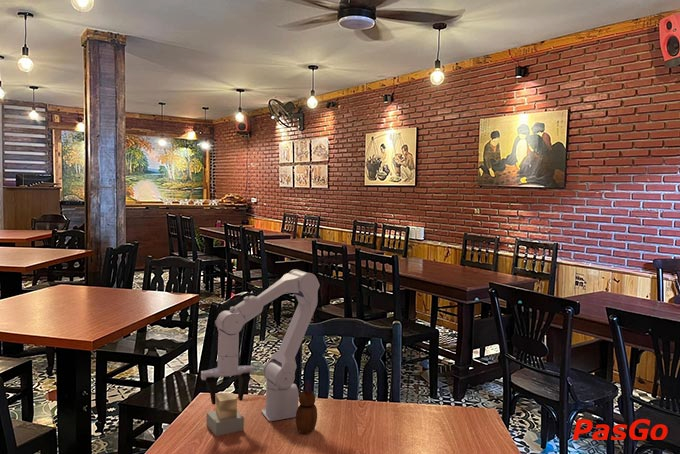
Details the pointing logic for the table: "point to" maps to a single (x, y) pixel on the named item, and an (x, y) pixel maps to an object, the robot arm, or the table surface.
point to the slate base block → (224, 423)
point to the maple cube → (226, 405)
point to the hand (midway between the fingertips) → (226, 401)
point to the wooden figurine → (306, 411)
